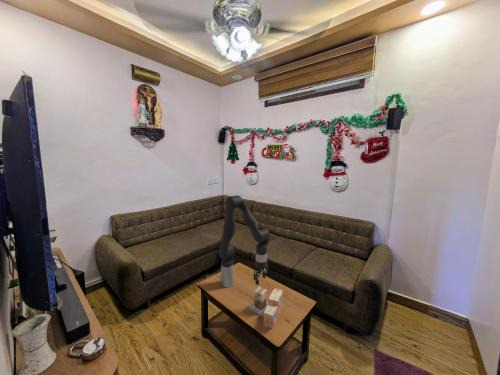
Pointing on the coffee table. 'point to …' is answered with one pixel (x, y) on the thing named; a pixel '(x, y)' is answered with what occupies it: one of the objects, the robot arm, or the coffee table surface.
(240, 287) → the coffee table surface
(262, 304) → the walnut block
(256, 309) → the build board
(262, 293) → the maple block
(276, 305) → the stack of blocks
